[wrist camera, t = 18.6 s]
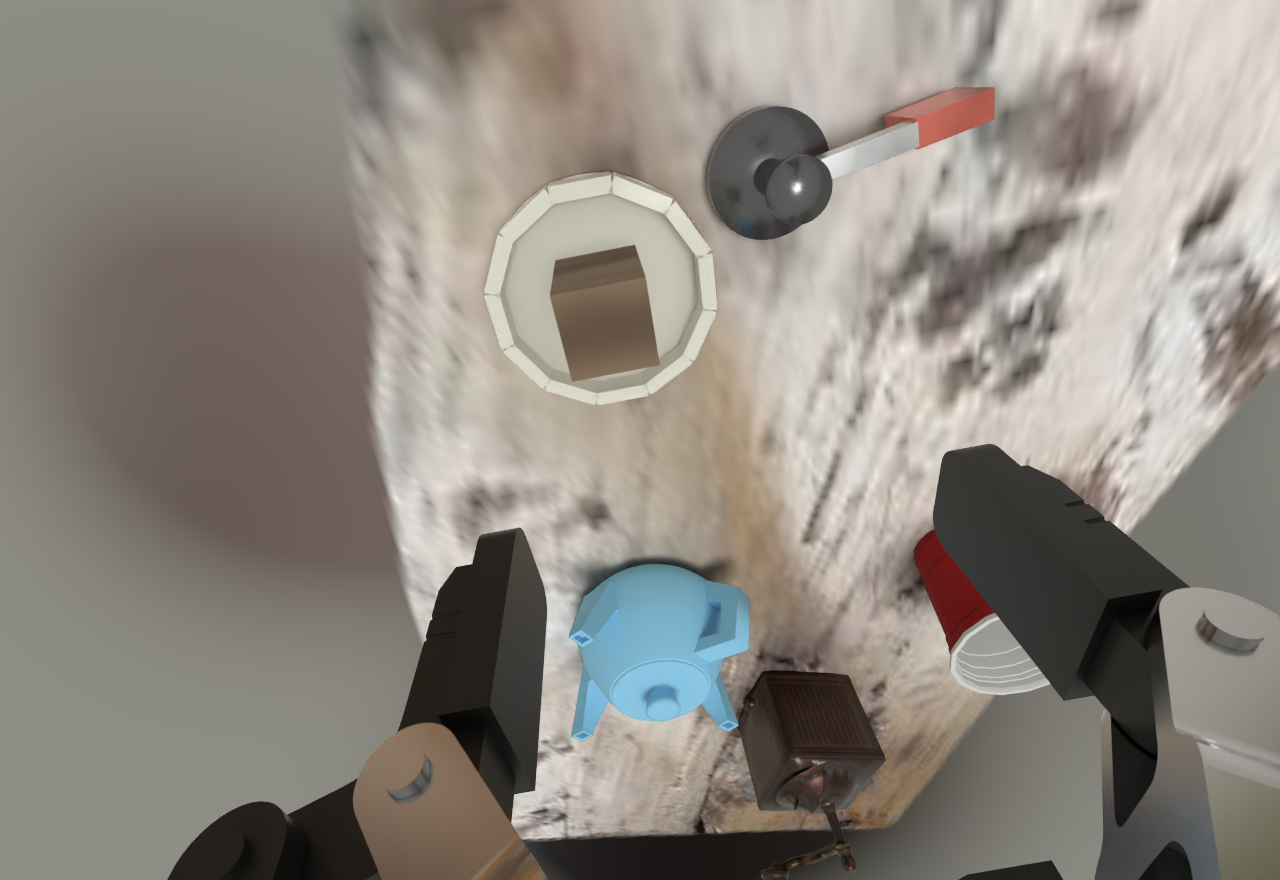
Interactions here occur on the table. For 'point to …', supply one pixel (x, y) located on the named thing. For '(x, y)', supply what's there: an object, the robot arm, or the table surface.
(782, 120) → the base
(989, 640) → the plastic cup
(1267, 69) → the table surface
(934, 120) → the crank
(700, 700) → the teapot
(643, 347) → the block
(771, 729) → the coffee grinder
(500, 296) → the dish
